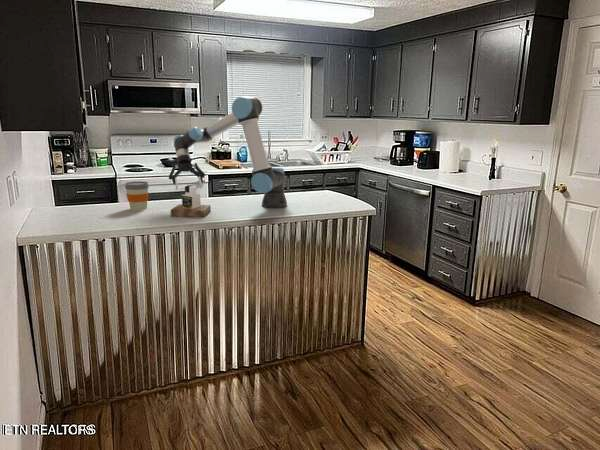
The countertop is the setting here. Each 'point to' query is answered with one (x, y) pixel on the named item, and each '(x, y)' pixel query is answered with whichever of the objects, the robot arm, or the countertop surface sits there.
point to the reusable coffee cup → (137, 194)
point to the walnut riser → (191, 211)
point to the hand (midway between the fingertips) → (189, 187)
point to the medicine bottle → (191, 198)
